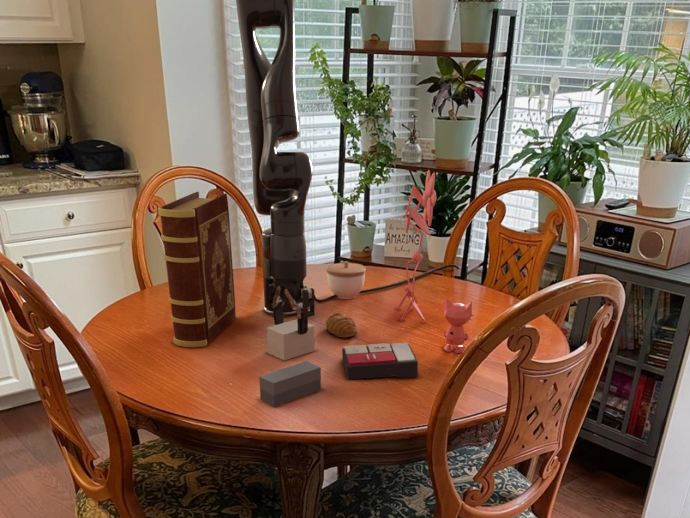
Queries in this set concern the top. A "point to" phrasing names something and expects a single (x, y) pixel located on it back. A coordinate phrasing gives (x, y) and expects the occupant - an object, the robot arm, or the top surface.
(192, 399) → the top surface
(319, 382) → the gray sharpening stone
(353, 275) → the trinket box
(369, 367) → the grey and red box
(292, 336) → the beige flat block
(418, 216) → the figurine
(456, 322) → the cat figurine
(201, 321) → the decorative book
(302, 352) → the light gray block
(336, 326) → the pastry
